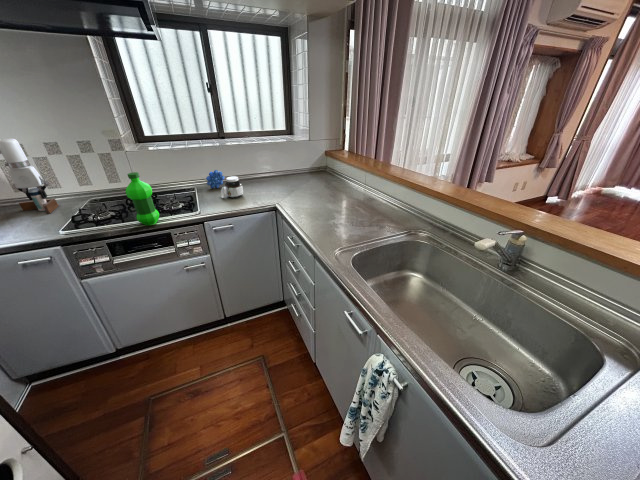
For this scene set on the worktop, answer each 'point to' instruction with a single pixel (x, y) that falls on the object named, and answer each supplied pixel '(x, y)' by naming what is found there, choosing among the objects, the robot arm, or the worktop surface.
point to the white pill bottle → (37, 198)
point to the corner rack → (48, 207)
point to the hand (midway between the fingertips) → (38, 198)
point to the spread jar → (232, 188)
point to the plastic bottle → (142, 200)
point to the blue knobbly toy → (215, 179)
